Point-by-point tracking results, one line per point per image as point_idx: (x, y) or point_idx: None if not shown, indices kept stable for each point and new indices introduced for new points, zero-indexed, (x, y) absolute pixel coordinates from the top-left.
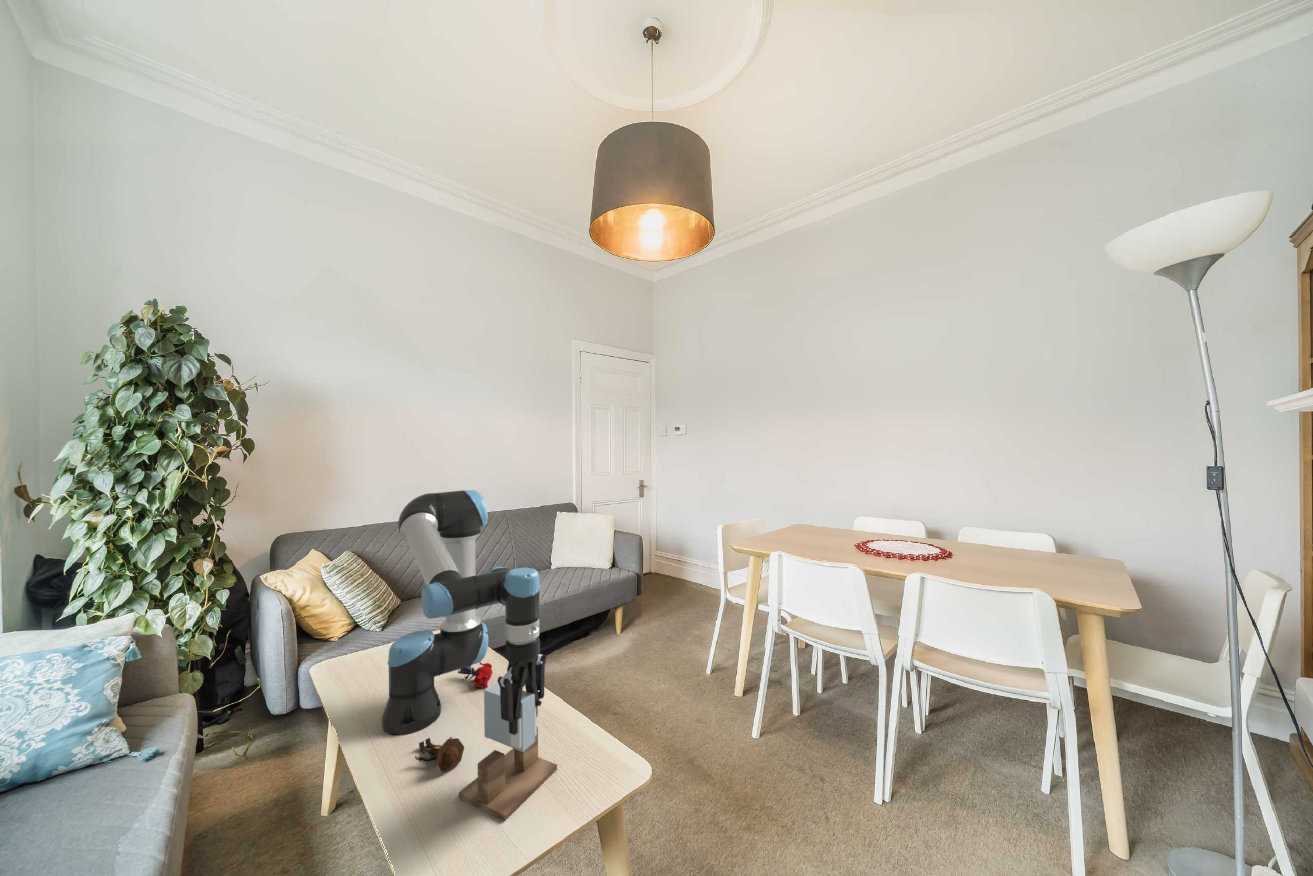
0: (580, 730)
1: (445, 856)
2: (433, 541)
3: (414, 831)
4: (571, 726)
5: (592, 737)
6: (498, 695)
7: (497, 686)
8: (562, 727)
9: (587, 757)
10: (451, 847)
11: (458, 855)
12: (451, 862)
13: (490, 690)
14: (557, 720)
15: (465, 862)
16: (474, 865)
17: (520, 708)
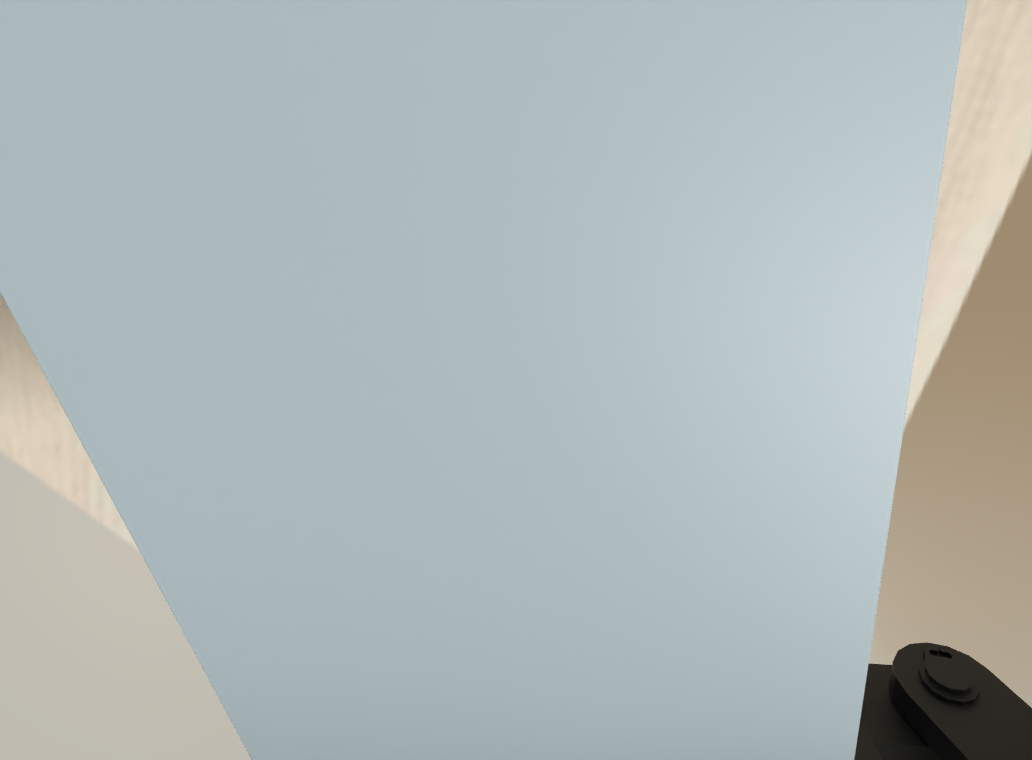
0: (956, 227)
1: (3, 404)
2: None
3: None
4: (974, 150)
5: (922, 325)
6: (233, 717)
7: (634, 57)
8: (951, 107)
9: None
10: (42, 382)
11: (59, 441)
12: (20, 449)
13: (75, 90)
14: (1007, 11)
15: (75, 489)
16: (103, 524)
17: None
